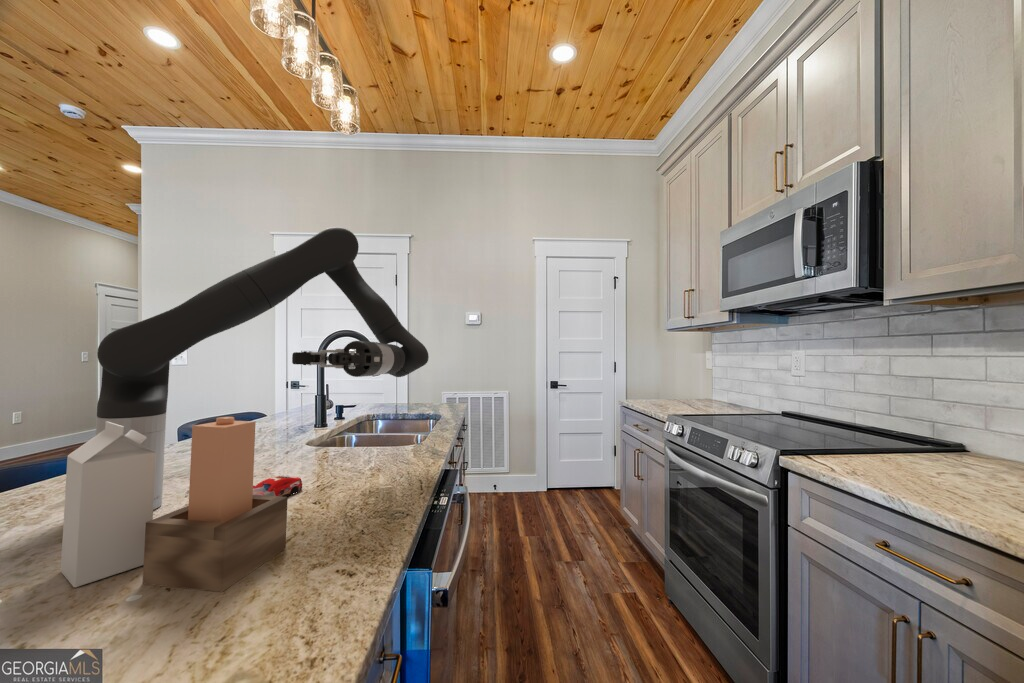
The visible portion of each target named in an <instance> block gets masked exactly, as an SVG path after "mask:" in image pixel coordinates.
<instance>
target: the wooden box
mask: <svg viewBox="0 0 1024 683" xmlns="http://www.w3.org/2000/svg"><path fill="white" fill-rule="evenodd" d="M288 497H289V496H288ZM288 497H281V496H265V495H253V497H252V509H251V510H249V511H247V512H245V513H243V514H241V515H239V516H237V517H235V518H233V519H231V520H229V521H227V522H211V521H198V520H188V507H189V505H186V506H184V507H182V508H179V509H176V510H174V511H171V512H169V513H165V514H164V515H161V516H158V517H156V518H153V520H150V521H148V522H146V528H145V547H144V565H143V572H142V573H143V574H142V585H150V586H161V587H171V588H178V589H179V588H180V589H181V588H182V589H192V590H201V591H212V592H221V593H222V592H224V591H226V590H227V589H229V588H231V586H232V587H233V585H234V584H236V583H238V582H239V581H240V580H242V579H243V578H245V577H246V576H247V575H249V574H251V573H253V571H255V570H256V569H258V568H259V567H261V566H262V565H264V564H265V563H267V562H268V561H269V560H271V559H273V558H274V557H276V556H277V555H279V554H280V553H281V552H282V551H285V549H286V548H287V546H286V545H287V526H288V525H287V521H288V520H287V519H288Z"/></svg>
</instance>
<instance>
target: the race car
mask: <svg viewBox="0 0 1024 683" xmlns="http://www.w3.org/2000/svg"><path fill="white" fill-rule="evenodd" d="M301 490H303V481H302V479H301V477H298V476H284V475H283V476H282V475H278V476H273V477H270V478H269V477H268V478H266V479H264V480H262V481H260V482H259V483H257V484H255V485H253V495H265V496H281V497H287V496H288V497H289V495H290V496H291V494H293V493H296V492H297V493H299V492H301ZM298 491H299V492H298Z"/></svg>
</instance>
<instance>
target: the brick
mask: <svg viewBox="0 0 1024 683" xmlns="http://www.w3.org/2000/svg"><path fill="white" fill-rule="evenodd" d="M215 420H216V421H214V422H207V423H201V424H195V425H192V428H191V447H190V467H189V468H190V469H189V490H188V491H189V492H188V506H189V507H188V520H198V521H211V522H227V521H229V520H231V519H233V518H235V517H237V516H239V515H241V514H243V513H245V512H247V511H249V510H251V509H252V497H253V486H254V470H255V468H254V467H255V446H256V444H255V443H256V421H251V420H250V421H249V420H235V416H221V417H216V418H215Z"/></svg>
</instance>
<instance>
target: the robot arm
mask: <svg viewBox="0 0 1024 683" xmlns="http://www.w3.org/2000/svg"><path fill="white" fill-rule="evenodd" d="M358 252H359V242H358V239H357V237H356V235H355V234H354V233H353V232H352V231H351V230H349V229H348V228H345V227H340V226H330V227H327V228H324V229H323V230H321V231H319V232H317V233H316V234H315V235H313V236H312V237H311V238H309V239H306V240H305V241H304V242H302V243H301V244H299V245H297V246H296V247H293V248H291V249H290V250H288V251H286V252H283V253H280V254H278V255H276V256H272V257H270V258H268V259H266V260H265V259H264V261H261V262H259V263H257V264H255V265H252V266H250V267H247V268H245V269H243V270H240V271H238V272H236V273H235V274H232V275H230V276H227V277H226V278H224V279H222V280H221V281H219V282H217V283H214V284H213V285H211V286H209V287H207V288H205V289H204V290H202V291H201V292H199V293H197V294H195V295H194V296H192V297H190V298H189V299H187V300H186V301H184V302H182V303H180V304H179V305H177V306H176V307H175V306H174V307H172V308H171V309H169V310H166V311H164V312H161V313H159V314H155V315H154V316H151V317H148V318H146V319H144V320H142V321H138V322H135V323H132V324H130V325H127V326H124V327H120V328H117V329H116V330H113V331H112V332H110V333H109V334H107V335H106V336H105V337H104V338H103V339H102V340H101V341H100V343H99V345H98V347H97V352H96V354H97V356H96V357H97V359H98V360H97V361H98V362H99V365H100V366H101V367H102V368H101V370H102V372H101V386H100V392H99V397H98V401H97V405H96V406H97V407H96V422H95V424H96V425H95V436H96V435H98V434H99V433H100V432H102V431H103V430H105V422H107V421H108V422H111V423H114V424H118V425H121V426H124V432H123V435H126V434H127V433H128V432H129V431H130V430H134V431H136V432H138V433H140V434H142V435H144V436H146V437H147V438H146V439H145V440H144V441H143V442H142V443H141V445H143V446H145V447H147V448H149V449H150V450H152V451H154V452H155V453H156V465H155V484H154V504H153V511H154V510H156V509H158V508H159V507H161V506H162V504H163V490H164V489H163V486H164V467H165V464H164V463H165V451H166V450H165V445H166V430H167V429H166V422H167V421H166V420H167V408H168V407H167V406H168V397H169V382H170V381H169V380H170V379H169V378H170V362H171V361H172V360H173V359H175V358H176V357H178V356H179V355H180V354H182V353H184V352H185V351H187V350H189V349H190V348H191V347H193V346H195V345H197V344H199V343H200V342H202V341H204V340H205V339H207V338H211V337H212V336H215V335H218V334H220V333H222V332H224V331H228V330H230V329H234V328H235V327H237V326H239V325H242V324H243V323H246V322H248V321H251V320H252V319H254V318H256V317H258V316H260V315H262V314H263V313H265V312H267V311H269V310H271V309H272V308H275V307H276V306H278V305H279V304H281V303H282V302H283V301H284V300H286V299H287V298H289V297H290V296H291V295H293V294H294V293H296V292H297V291H298V290H299V289H300V288H302V287H303V286H304V285H305V284H306V283H308V282H309V281H311V280H312V279H315V277H318V276H320V275H322V274H324V273H325V274H326V275H327V276H328V278H329V279H331V281H332V282H334V284H335V285H336V286H337V287H338V288H339V289H340V290H341V292H342V293H343V294H344V296H346V297H347V299H348V300H349V302H350V303H351V304H352V306H353V307H354V308H355V309H356V311H357V312H358V314H359V315H360V316H361V318H362V319H363V320H364V322H365V324H366V326H368V328H369V329H370V331H371V333H372V334H373V335H374V336H375V338H376V340H377V341H378V342H377V341H368V340H367V341H365V340H353V341H350V342H348V343H347V344H346V345H345V347H344V348H335V349H320V350H319V351H318V352H315V351H305V350H304V351H301V352H297V351H295V352H293V353H291V354H292V357H291V360H292V361H291V363H292V364H293V365H303V366H313V365H314V366H316V365H318V366H319V367H320V368H334V369H343V370H344V372H345V373H346V374H348V376H350V377H354V378H358V377H359V378H360V377H374V376H375V377H376V376H380V375H390V376H393V377H395V378H396V377H397V378H401V377H405V376H406V377H407V376H408V375H409V374H411V373H413V372H415V371H416V370H418V369H421V368H422V367H424V366H425V365H427V363H428V362H429V357H430V356H429V351H428V349H427V348H426V346H425V345H424V344H423V343H422V342H421V341H420V340H418V338H416V337H415V336H414V335H413V334H412V333H410V332H409V330H408V329H406V328H405V327H404V326H403V324H402V323H401V321H400V320H399V318H398V317H397V315H396V314H395V312H394V311H393V310H392V308H391V307H390V305H389V304H388V303H387V302H386V300H385V299H383V298H382V296H381V295H379V294H378V293H377V292H376V290H374V289H373V288H372V287H371V286H370V285H369V284H368V282H366V281H365V279H364V278H363V276H362V274H361V273H360V271H359V270H358V268H357V266H356V264H355V261H354V260H356V258H357V256H358ZM391 343H398V344H399V345H401V346H399V345H396V344H391ZM327 363H328V364H327Z"/></svg>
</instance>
